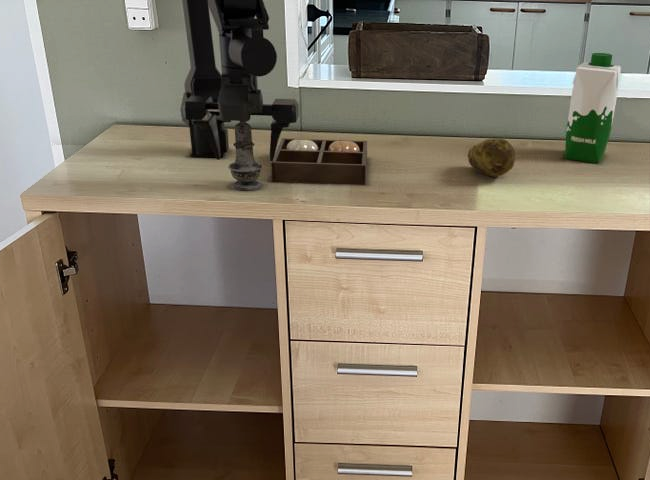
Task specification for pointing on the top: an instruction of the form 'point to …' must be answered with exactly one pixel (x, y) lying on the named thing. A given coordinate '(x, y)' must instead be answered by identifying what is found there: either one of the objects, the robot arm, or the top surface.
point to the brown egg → (344, 146)
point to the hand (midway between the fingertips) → (245, 160)
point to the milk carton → (592, 108)
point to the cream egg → (302, 145)
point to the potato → (492, 157)
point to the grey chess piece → (245, 160)
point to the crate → (319, 164)
